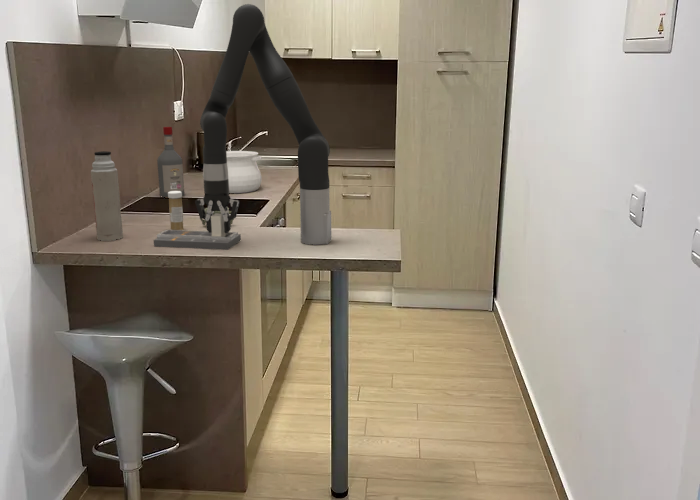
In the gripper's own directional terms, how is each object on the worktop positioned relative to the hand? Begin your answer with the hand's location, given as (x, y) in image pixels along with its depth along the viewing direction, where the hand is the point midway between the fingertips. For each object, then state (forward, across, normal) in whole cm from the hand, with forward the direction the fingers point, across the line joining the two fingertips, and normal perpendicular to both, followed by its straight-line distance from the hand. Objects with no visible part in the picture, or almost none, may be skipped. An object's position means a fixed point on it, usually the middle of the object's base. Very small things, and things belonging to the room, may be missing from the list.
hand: (218, 232), depth 214 cm
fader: (+2, 0, 0) cm, 2 cm away
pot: (+4, +30, -101) cm, 105 cm away
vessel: (+4, +10, -25) cm, 27 cm away
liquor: (+4, +51, -79) cm, 94 cm away
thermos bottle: (+4, +38, -2) cm, 38 cm away
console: (+4, +7, 0) cm, 8 cm away
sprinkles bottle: (+4, +21, -16) cm, 27 cm away
